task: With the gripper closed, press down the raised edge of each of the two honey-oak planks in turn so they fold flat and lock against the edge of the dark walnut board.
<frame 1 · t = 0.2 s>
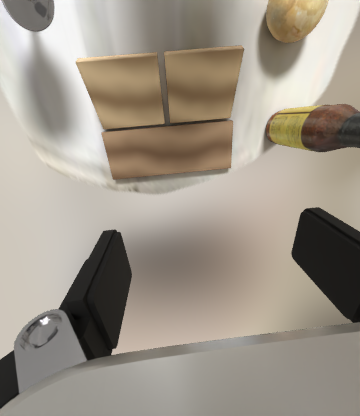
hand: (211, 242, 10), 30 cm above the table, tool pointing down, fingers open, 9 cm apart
oak plank 1: (126, 95, 30), point 3 cm above the table, hinge at 30.0°
walnut board: (170, 150, 37), on the table
onion: (283, 16, 29), on the table
oak plank 2: (201, 89, 30), point 3 cm above the table, hinge at 30.0°
sauce bottle: (280, 125, 37), on the table
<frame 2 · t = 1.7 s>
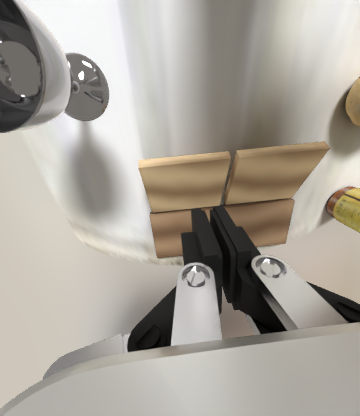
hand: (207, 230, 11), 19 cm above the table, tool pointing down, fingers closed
oak plank 1: (185, 186, 26), point 3 cm above the table, hinge at 30.0°
walnut board: (220, 226, 34), on the table
wine glass: (80, 89, 23), on the table
oak plank 2: (268, 177, 27), point 3 cm above the table, hinge at 30.0°
sauce bottle: (341, 200, 33), on the table
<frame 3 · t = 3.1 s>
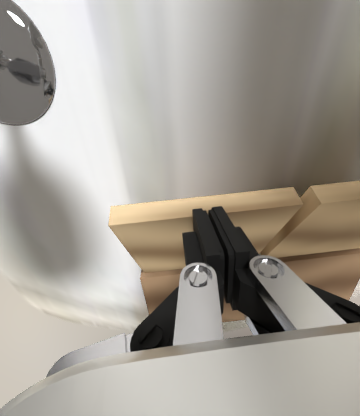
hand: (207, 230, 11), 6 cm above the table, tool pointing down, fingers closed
oak plank 1: (200, 240, 15), point 3 cm above the table, hinge at 29.6°, touching gripper
walnut board: (249, 284, 22), on the table
oak plank 2: (346, 224, 15), point 3 cm above the table, hinge at 30.0°
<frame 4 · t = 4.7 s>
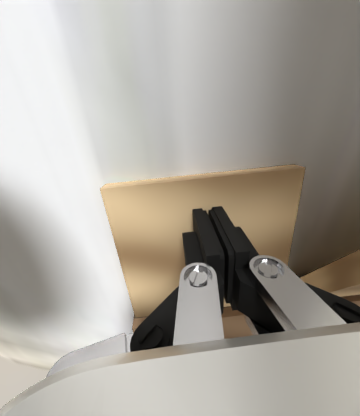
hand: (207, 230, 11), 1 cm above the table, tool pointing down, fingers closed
oak plank 1: (205, 248, 12), point 1 cm above the table, hinge at -2.7°
walnut board: (268, 326, 18), on the table
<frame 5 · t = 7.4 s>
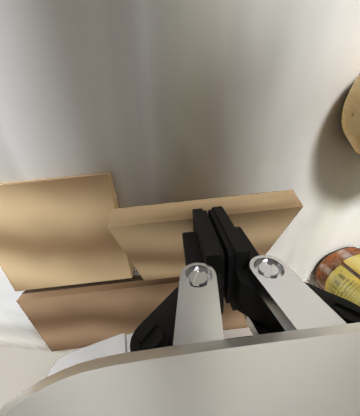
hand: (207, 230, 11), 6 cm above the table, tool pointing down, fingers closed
oak plank 1: (59, 235, 16), point 1 cm above the table, hinge at -2.7°
walnut board: (148, 303, 21), on the table
oak plank 2: (200, 245, 15), point 3 cm above the table, hinge at 26.6°, touching gripper
sauce bottle: (338, 263, 21), on the table
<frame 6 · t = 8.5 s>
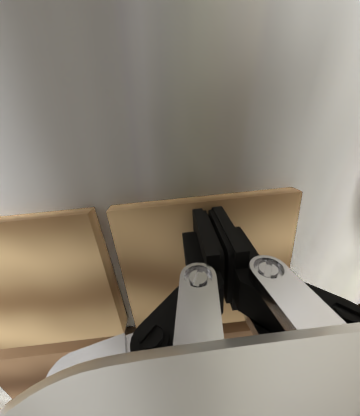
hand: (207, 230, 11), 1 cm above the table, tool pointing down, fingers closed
oak plank 1: (29, 285, 13), point 1 cm above the table, hinge at -2.7°
walnut board: (145, 355, 18), on the table
oak plank 2: (206, 266, 13), point 1 cm above the table, hinge at -2.7°
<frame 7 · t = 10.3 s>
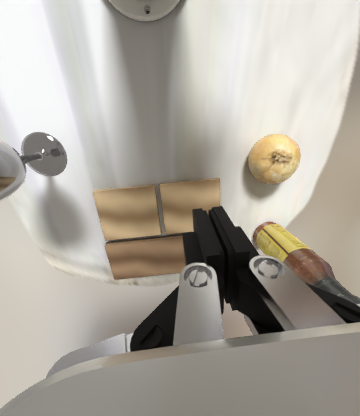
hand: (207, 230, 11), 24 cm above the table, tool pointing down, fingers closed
oak plank 1: (129, 213, 36), point 1 cm above the table, hinge at -2.7°
walnut board: (166, 253, 41), on the table
onion: (264, 157, 34), on the table
wine glass: (45, 154, 31), on the table
oak plank 2: (191, 206, 36), point 1 cm above the table, hinge at -2.8°
sauce bottle: (266, 232, 40), on the table
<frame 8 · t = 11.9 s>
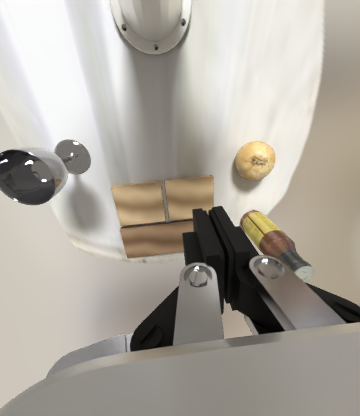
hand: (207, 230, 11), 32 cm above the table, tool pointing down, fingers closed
oak plank 1: (139, 203, 44), point 1 cm above the table, hinge at -2.7°
walnut board: (169, 236, 50), on the table
onion: (249, 158, 42), on the table
wine glass: (73, 157, 39), on the table
oak plank 2: (190, 198, 44), point 1 cm above the table, hinge at -2.8°
sauce bottle: (251, 218, 49), on the table
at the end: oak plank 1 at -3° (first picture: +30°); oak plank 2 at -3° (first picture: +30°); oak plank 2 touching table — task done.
